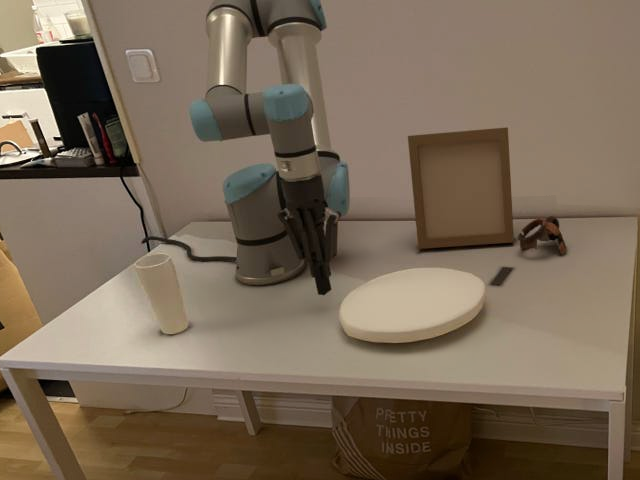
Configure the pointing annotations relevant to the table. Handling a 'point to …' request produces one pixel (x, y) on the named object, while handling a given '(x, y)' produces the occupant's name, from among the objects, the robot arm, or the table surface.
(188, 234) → the table surface
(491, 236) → the photo frame
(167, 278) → the drinking glass
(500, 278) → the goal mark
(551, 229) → the brown curved piece
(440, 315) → the plate
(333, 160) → the robot arm
